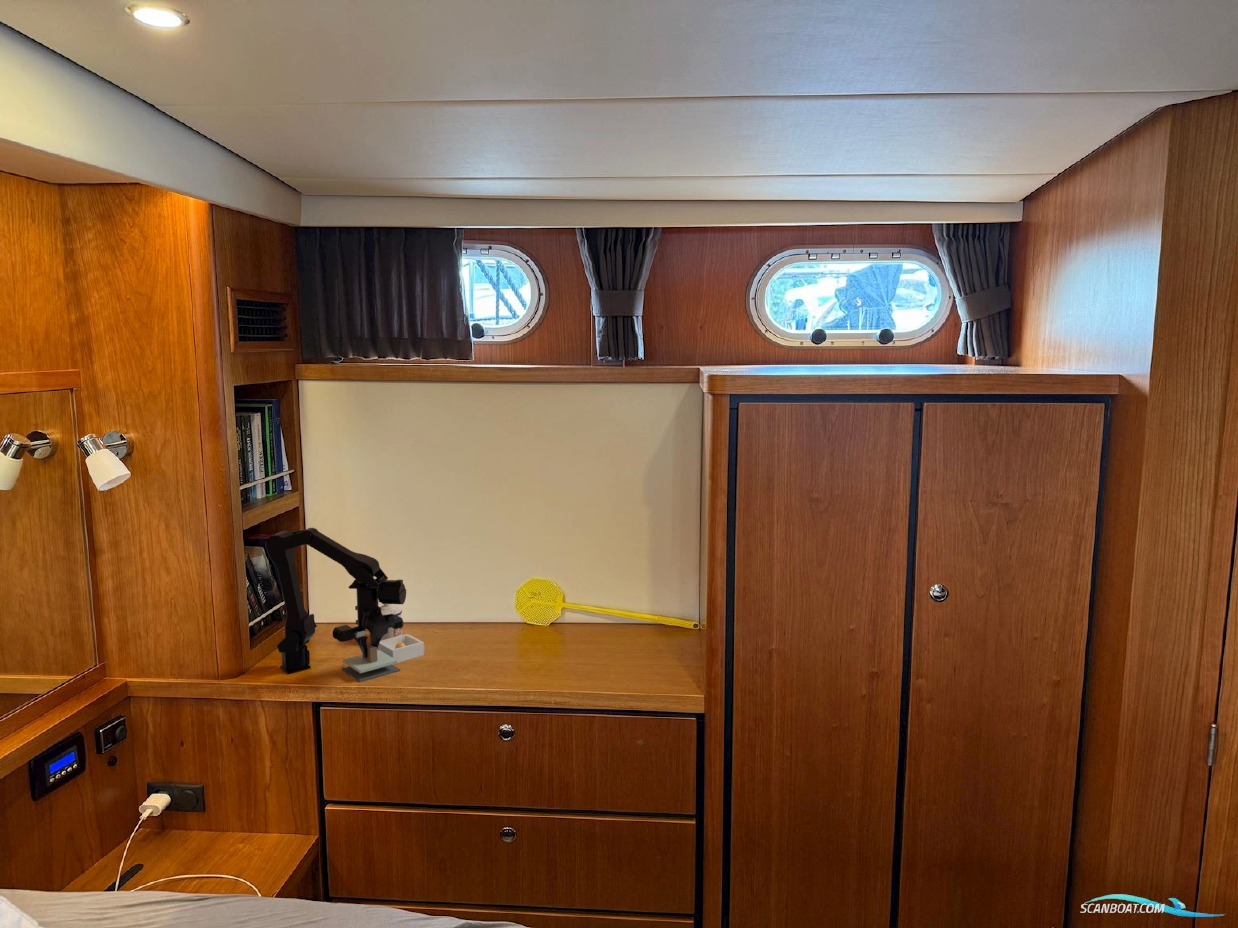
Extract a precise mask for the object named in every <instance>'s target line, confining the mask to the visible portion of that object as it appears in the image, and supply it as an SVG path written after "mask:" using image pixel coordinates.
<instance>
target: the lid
mask: <svg viewBox="0 0 1238 928" xmlns="http://www.w3.org/2000/svg"><path fill="white" fill-rule="evenodd" d="M361 653H362V652H361ZM342 663H343V664H345V665H347V667H349V666H350V667H351V668H353V669H354V670H356V671H357V672H359V673H363V672H367V671H371V670H374V669H378V668H381V667H385V666H388V665H395V664H398V663H397V660H396V659H394V658H392V657H391V656H389V655H387V654H385V653H384V652H382V651H380V650H377V648H376V647H375V646H373V645H371V643H369V642H367V658H365V657H364V655H363V653H362V654H358V655H355V656H352V657H347V658H343V659H342Z"/></svg>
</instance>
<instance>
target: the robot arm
mask: <svg viewBox="0 0 1238 928" xmlns="http://www.w3.org/2000/svg"><path fill="white" fill-rule="evenodd" d="M304 545H307V546H309V547H311V549H314V550H316V551H317V552H318V553H321V554H322V555H324V556H325V557H328V558H329V559H331V560H333V561H334V562H335V563H338V564H339V565H341V566H342V567H343V568H344V569H345V571H346V572H347V573H348V575H350V576H351V577H352V578H353V579H354V580H353V582H352V583H351V584H350V585H349V586H348V589H350V590H351V589H353V590H355V589H356V606H354V607H355V608H354V609H355V611H356V612H357V619H356V620H355V624H356V625H357V626H349V625H348V624H344V625H339V626H335V627H334V628H333V630H332V638H333V639H336V640H337V641H338V642H340V643H344V642H349V641H353V640H355V642H356V643H357V645H358V646H359V649H360V651H361V653H363V655H364V657H365V658H367V644H368V642H367V641H368V638H369V637H370V644H371V645H373V646H375V647H376V648H377V649H378V646H379V643H380V640H381V638H382V637H383V636H384V635H385V634H387V633H388V629H389V628H391V627H392V628H393V629H398V628H402V629H403V628H404V620H403V618H402V616H401V617H399V616H397V615H395V614H388V615H382V613H381V606H379V603H380V604H381V605H384V604H390V605H404V604H405V603H406V602H405V601H406V598H407V589H406V585H405V584H404V580H403V579H389V577H388V575H386V573H385V572H384V571H383V570H382V568H381V565H380V562H379V560H378V559H376V558H374V557H372V556H369V555H367V554H364V553H359V552H355V551H352V550H350V549H349V548H347V547H345V546H343V544H340V543H338V542H337V541H335V540H334V539H332V538H330V537H328V536H327V535H325V534H323V533H322V532H320V531H319V530H318V529H317V528H316V527H308V528H306V529H301V530H296V531H292V532H291V531H289V530H282V531H280V532H277V533H275V534H272V535H270V536H269V537H268V538H267V539H266V541H265V545H264V546H265V550H266V552H267V554H268V557H269V559H270V560H271V562H272V563H273V564H274V565H275V567H276V571H277V574H278V578H279V579H278V580H279V584H280V587H281V592H282V598H283V603H284V606H285V610H286V617H285V618H286V619H285V623H284V624H285V625H284V638H283V639H282V640H281V641H280V642H279V643H278V644H277V645H276V647H277V650H278V653H281V665H280V666H279V668H280V670H282V671H283V672H285V673H286V674H289V675H291V674H293V673H297V672H301V671H306V670H308V669H309V670H310V669H311V668H312V667H311V665H310V664H311V660H310V659H311V657H310V650H309V649H308V645H307V644H308V643H309V642H310V639H311V638H312V637H313V636H314V635H315V633H316V628H317V627H318V626H317V624H316V622H315V621H316V620H315V614H314V613H311V614H309V613H308V612H307V611H306V608H305V605H304V604H305V603H304V601H303V600H304V599H303V595H302V591H301V586H300V582H299V577H298V572H297V567H296V562H295V561H296V555H297V551H298V550H297V549H298V547H299V546H304ZM366 632H369V637H368V636H366Z"/></svg>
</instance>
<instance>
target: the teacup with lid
mask: <svg viewBox="0 0 1238 928" xmlns="http://www.w3.org/2000/svg"><path fill="white" fill-rule="evenodd" d="M380 607H381V613H382V615H388V614H395V615H397V616H399V617H401V618H402V612H403V610H402V608H400V607H398V606H396V605H394V604H382V605H381V606H380ZM402 629H403V627H402V628H398V629H393V628H392V627H391V628H389V629H388V633H387V634H385V635H384V636H383V637H382V638H381V640H380V641H382V640H386V639H390V638H394V637H397V636H401V635H403V630H402Z"/></svg>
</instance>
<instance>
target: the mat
mask: <svg viewBox="0 0 1238 928" xmlns="http://www.w3.org/2000/svg"><path fill="white" fill-rule="evenodd" d="M340 671H342V672H344V673H345V674H346V675H348V676H349V677H351V678H353V679H354V680H356V681H358V682H359V683H363V682H365V681H369V680H373V679H376V678H379V677H383V676H386V675H390V674H393V673H396V672H401V669H400V668H398V666H395V664H392V665H388V666H385V667H381V668H378V669H374V670H371V671H367V672H363V673H359V672H357V671H356V670H354V669H353V668H351V667H350V666H345V667H342V668H340Z"/></svg>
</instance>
